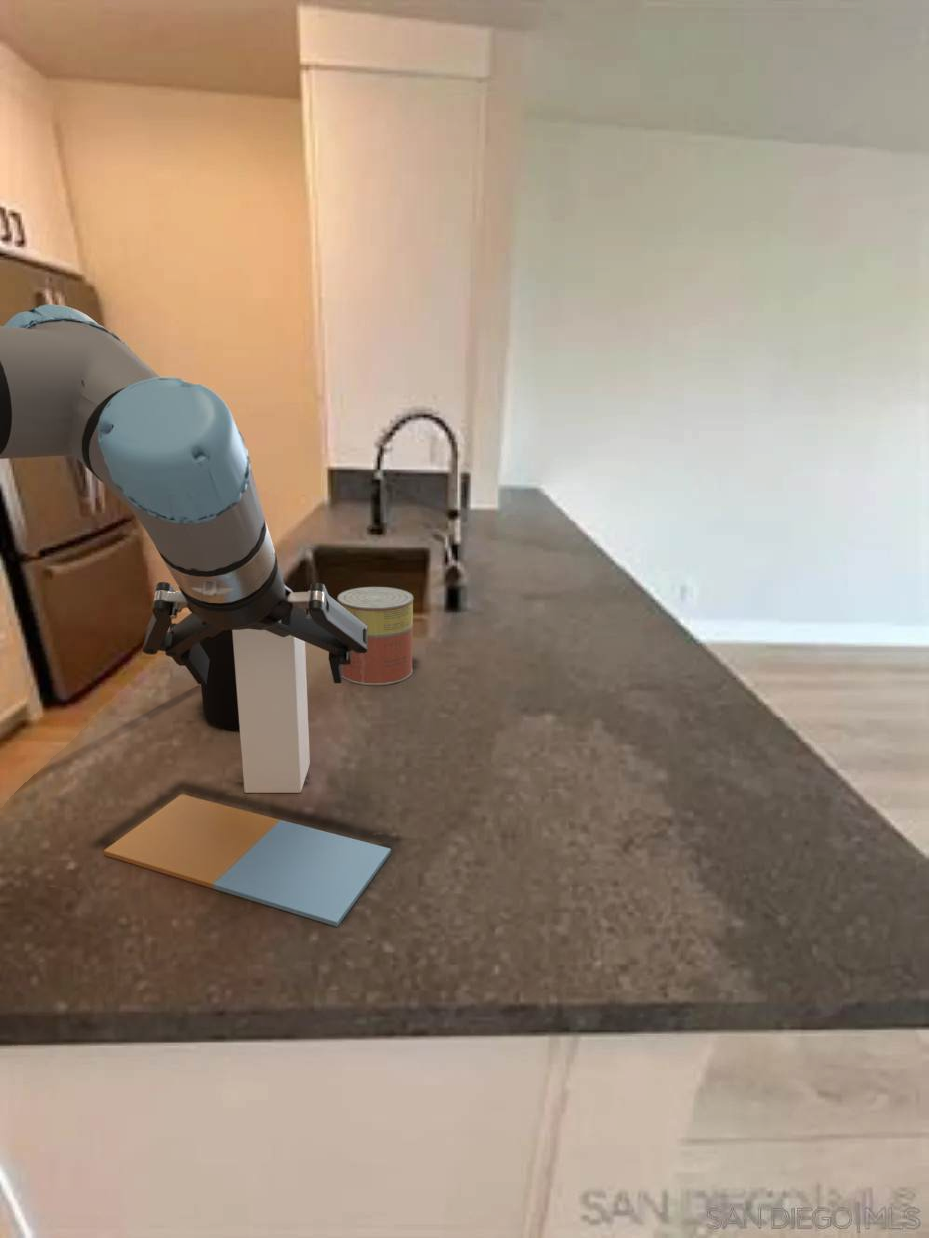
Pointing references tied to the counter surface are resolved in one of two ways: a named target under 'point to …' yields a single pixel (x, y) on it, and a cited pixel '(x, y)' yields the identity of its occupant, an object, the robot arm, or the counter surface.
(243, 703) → the milk
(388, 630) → the canned food
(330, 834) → the sorting board
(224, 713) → the coffee jar
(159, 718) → the counter surface
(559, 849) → the counter surface
